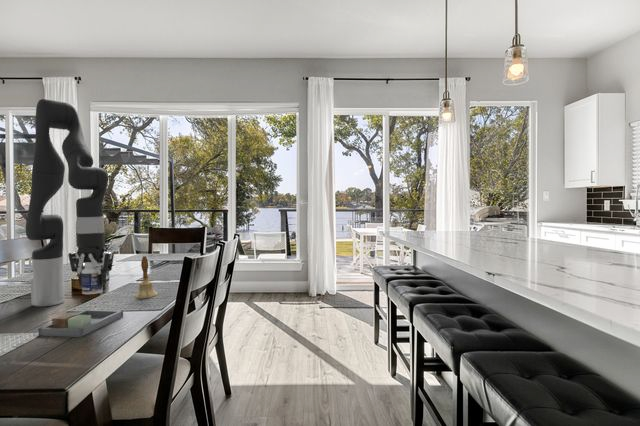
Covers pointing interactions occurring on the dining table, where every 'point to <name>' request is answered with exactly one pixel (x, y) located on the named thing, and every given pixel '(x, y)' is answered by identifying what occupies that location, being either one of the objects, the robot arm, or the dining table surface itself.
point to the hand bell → (145, 282)
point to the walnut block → (61, 321)
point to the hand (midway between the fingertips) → (92, 285)
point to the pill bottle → (90, 279)
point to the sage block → (79, 321)
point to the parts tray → (97, 321)
